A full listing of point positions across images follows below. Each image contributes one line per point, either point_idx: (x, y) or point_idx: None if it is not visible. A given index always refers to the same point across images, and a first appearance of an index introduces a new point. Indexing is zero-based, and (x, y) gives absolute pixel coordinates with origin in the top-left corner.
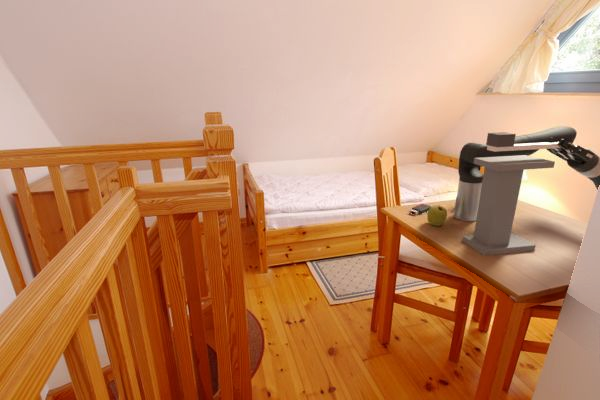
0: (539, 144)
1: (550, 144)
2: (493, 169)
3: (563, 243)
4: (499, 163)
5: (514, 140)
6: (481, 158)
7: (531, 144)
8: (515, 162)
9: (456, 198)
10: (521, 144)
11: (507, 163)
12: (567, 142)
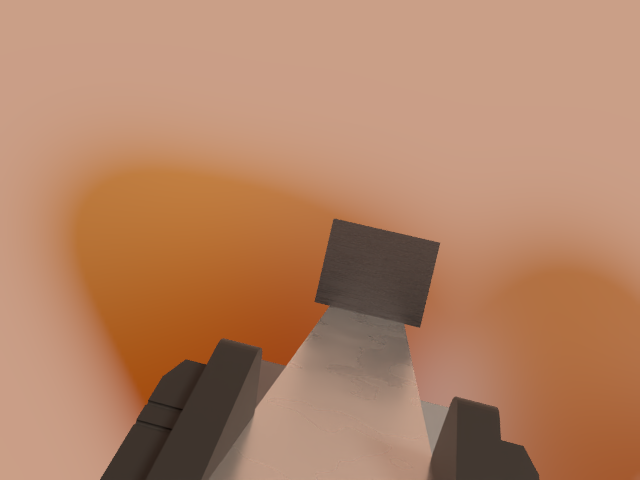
0: (308, 350)
1: (276, 385)
2: None
3: None
4: (279, 372)
5: (324, 262)
6: (430, 410)
7: (336, 341)
8: (259, 401)
9: None
10: (365, 333)
11: (259, 379)
12: (150, 403)
